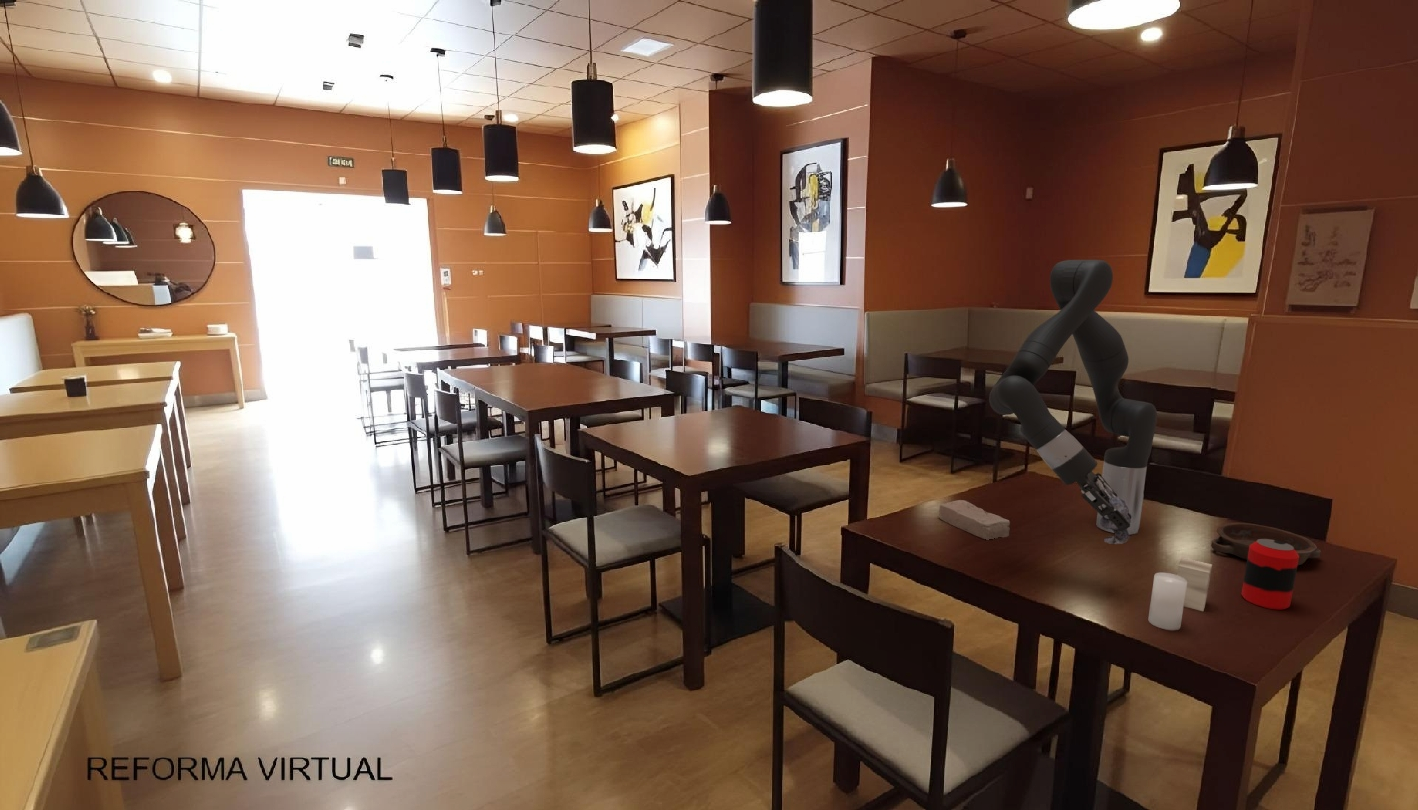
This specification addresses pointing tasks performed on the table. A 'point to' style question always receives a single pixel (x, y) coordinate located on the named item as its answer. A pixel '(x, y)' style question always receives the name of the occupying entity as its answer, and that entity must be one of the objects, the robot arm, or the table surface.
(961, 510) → the brick
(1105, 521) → the fossil stone
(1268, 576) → the soda can
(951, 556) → the table surface
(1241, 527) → the dish
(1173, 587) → the ceramic cylinder
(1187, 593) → the birch block
